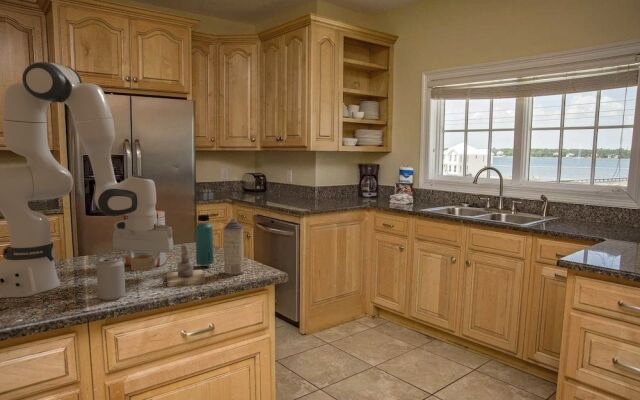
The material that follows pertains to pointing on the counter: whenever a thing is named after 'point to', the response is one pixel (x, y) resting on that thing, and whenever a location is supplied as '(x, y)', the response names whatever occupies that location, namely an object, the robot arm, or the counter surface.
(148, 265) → the collar
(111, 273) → the can
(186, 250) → the shaft stand
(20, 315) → the counter surface
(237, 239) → the aerosol can
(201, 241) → the beverage bottle
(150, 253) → the cracker box
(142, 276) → the counter surface
